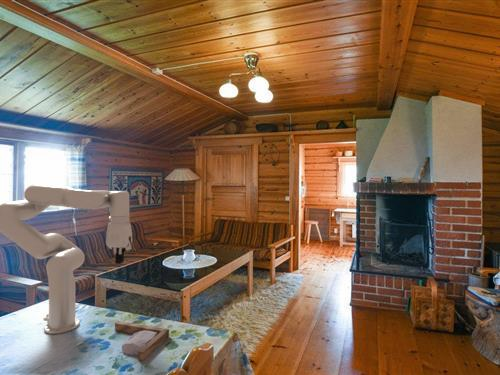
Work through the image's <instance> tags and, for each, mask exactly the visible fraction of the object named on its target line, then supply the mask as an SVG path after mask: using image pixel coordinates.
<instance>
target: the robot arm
mask: <svg viewBox="0 0 500 375" xmlns="http://www.w3.org/2000/svg"><path fill="white" fill-rule="evenodd" d="M23 192H24V193H23V195H24V199H23V200H13V201H7V202H4V203H1V204H0V233H1V235H3V236H5V237H6V238H8V239H9V240H11V241H12V242H14V243H15V244H16V245H17V246H18V247H20V248H21V249H23V250H24V251H25V252H26V253H28V254H29V255H30V256H32V257H33V258H34V259H38V260H44V259H47V258H49V257H50V258H49V259H48V261H47V262H46V269H45V270H46V275H47V279H48V280H47V281H48V313H47V314H46V317H43V321H45V322H47V324H46V325H45V326H44V332H45V333H46V334H50V335H57V334H63V333H68V332H70V331H72V330H75V329H76V328H78V327H79V325H80V322H81V321H80V319H79V318H77V317H76V278H75V276H74V271H75V270H77V269H79V268H80V267H81V266H82V265H83V264H84V263H85V258H86V257H85V253H84V251H83V250H82V249H80V247H78V246H77V245H76V244H74V243H73V242H72V241H71V240H69V239H68V238H67V237H65V236H64V235H62V234H60V233H58V232H49V233H47V234H44V233H42V232H40V231H39V230H38V229H36V228H35V227H33V226H32V225H30V224H28V223H26V222H23V221H27V220H30V219H34V218H35V217H37V216H38V215H40V214H41V213H43V211H45V210H46V209H48V208H49V207H50V206H52V207H53V206H55V207H62V208H63V207H64V208H70V209H71V208H72V209H80V210H99V209H104V208H109V209H110V210H109V215H110V216H109V217H108V220H109V222H108V225H107V229H106V237H105V245H106V246H107V248H108V249H110V250H112V251H113V254H114V256H115V264H117V265H120V264H123V263H124V262H125V261H124V260H125V253H126V252H127V251H130V250H132V245H133V232H132V231H133V230H132V225H131V223H130V193H129V191H127V190H126V191H125V190H115V191H113V190H106V189H103V190H87V189H86V190H85V189H74V188H71V187H70V186H66V185H53V184H50V183H41V184H39V183H37V184H32V185H30V186H28V187H27V188H26V189H25V191H23Z"/></svg>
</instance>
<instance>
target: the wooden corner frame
mask: <svg viewBox="0 0 500 375" xmlns="http://www.w3.org/2000/svg"><path fill="white" fill-rule="evenodd" d="M144 330H145V331H152V332H157V336H155V337H154V338H153V339H152V340H151V341H150V342H148V343H147V344H146V345H145V346H144V347H143V348H142V349H140V350H139V351H138V355H137V360H138V361H141V362H144V361H145V360H146V359H147V358H148V357H149V356H150V355H151V354H152V353H154V351H155V350H156V349H157V348H158V347H160V346H161V345H162V344H163V343H164V342H165V341H166V340H167V339H168V338H169V337H170V329H168V328H164V327H158V326H151V325H144V324H141V323H140V324H139V323H132V322H128V321H127V322H126V321H119V320H118V321H116V322H115V323H114V331H116V332H123V333H127V334H128V333H129V334H132V335H133V334H134V333H136V332H139V331H144Z"/></svg>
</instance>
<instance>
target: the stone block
mask: <svg viewBox="0 0 500 375" xmlns="http://www.w3.org/2000/svg"><path fill="white" fill-rule="evenodd" d="M155 336H157V332H152V331H145V330H144V331H139V332H136V333H134V334H133V333H132V335H131V336H129V338H128V339H127V340H125V342H124V343H122V344H121V351H122V353H123V354H124V355H125V354H126V355H137V356H138V351H139V350H140V349H142V348H143V347H144V346H145V345H146V344H147V343H148V342H150V341H151V340H152V339H153V338H154V337H155Z"/></svg>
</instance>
